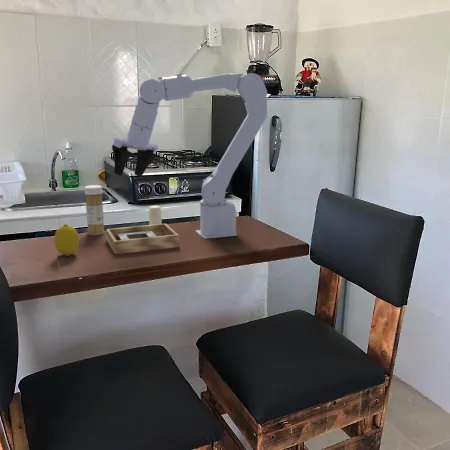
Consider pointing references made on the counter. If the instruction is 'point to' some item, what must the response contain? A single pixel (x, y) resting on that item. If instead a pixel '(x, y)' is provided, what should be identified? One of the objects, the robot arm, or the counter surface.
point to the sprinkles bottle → (94, 209)
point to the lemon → (66, 240)
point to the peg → (155, 215)
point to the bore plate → (135, 235)
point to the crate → (143, 239)
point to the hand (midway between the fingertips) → (128, 175)
